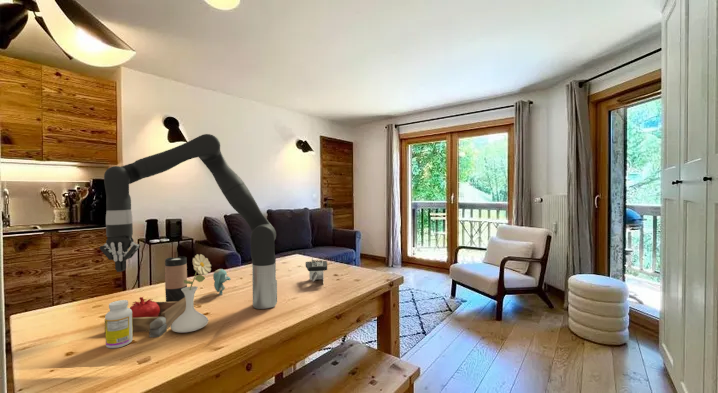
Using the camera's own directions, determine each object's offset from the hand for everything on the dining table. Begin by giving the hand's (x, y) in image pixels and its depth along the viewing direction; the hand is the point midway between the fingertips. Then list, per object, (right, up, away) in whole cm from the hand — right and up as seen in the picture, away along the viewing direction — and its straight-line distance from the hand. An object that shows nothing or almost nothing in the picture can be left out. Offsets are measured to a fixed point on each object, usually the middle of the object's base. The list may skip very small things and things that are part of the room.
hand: (120, 271), depth 112 cm
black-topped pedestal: (+64, -18, +47) cm, 81 cm away
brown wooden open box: (+10, -19, -1) cm, 21 cm away
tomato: (+8, -19, +1) cm, 20 cm away
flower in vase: (+28, -19, -4) cm, 34 cm away
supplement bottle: (+11, -19, -15) cm, 27 cm away
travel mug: (+11, -19, +15) cm, 26 cm away
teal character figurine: (+23, -18, +30) cm, 42 cm away
